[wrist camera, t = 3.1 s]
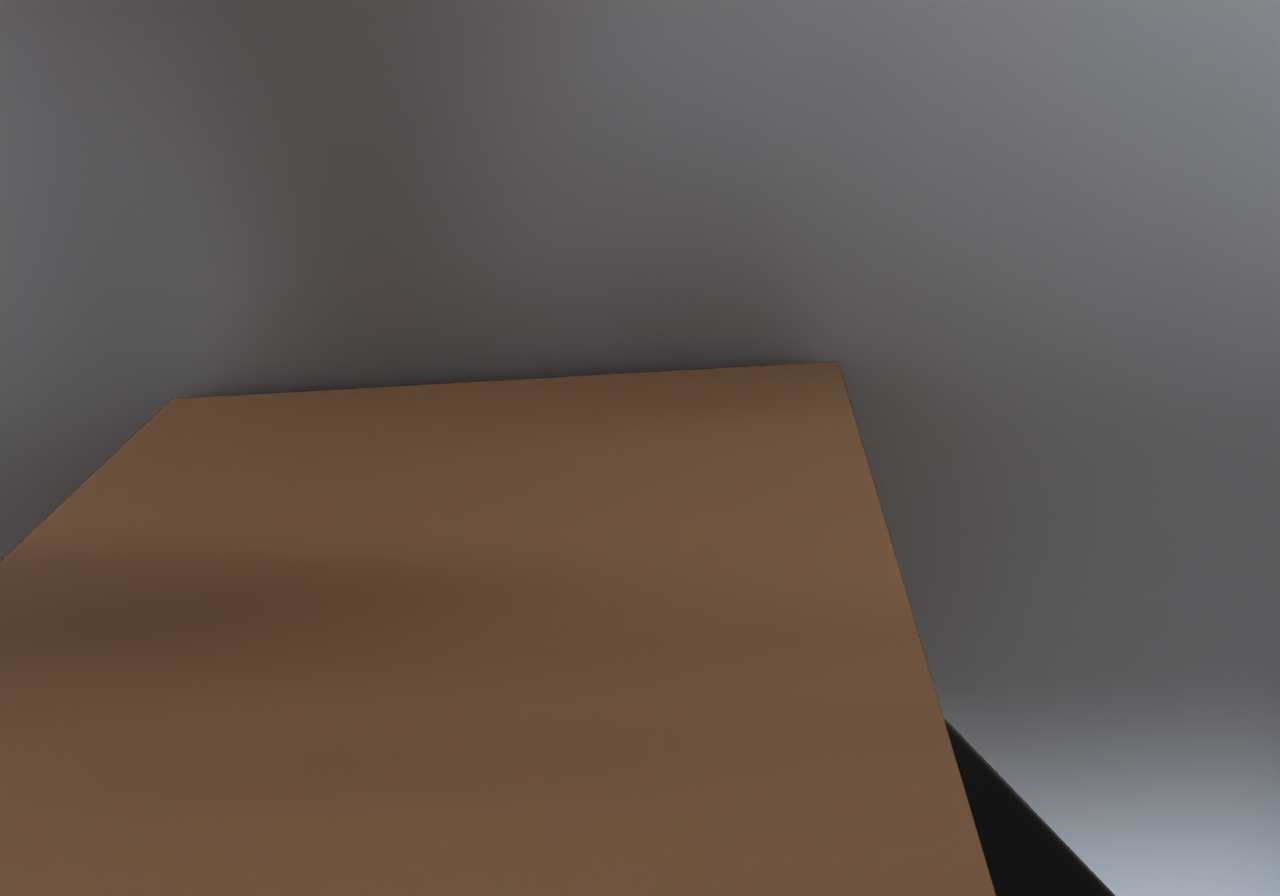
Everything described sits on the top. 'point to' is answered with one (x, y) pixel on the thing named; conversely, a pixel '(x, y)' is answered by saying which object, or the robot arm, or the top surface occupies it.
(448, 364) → the top surface
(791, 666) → the base block
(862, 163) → the top surface
